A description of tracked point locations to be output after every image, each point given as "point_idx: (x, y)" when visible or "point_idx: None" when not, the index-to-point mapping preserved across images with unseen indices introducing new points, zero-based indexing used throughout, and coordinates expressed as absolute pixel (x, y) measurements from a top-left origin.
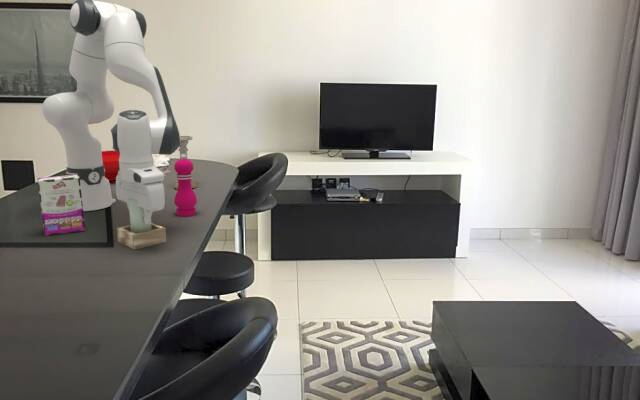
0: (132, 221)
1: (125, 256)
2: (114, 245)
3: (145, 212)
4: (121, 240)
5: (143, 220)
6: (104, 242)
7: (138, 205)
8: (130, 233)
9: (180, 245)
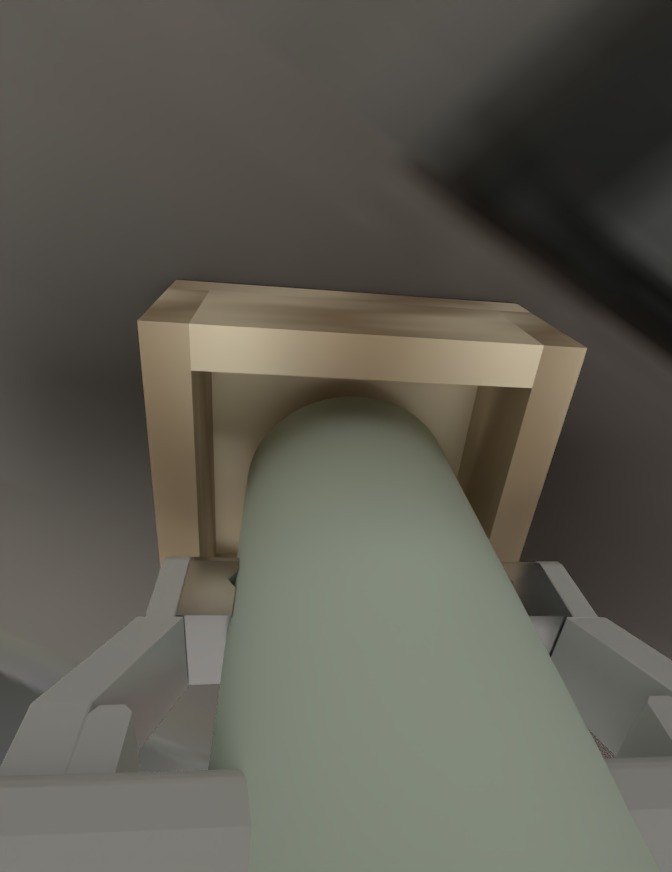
0: (355, 486)
1: (29, 71)
2: (458, 218)
3: (56, 704)
4: (451, 306)
5: (205, 578)
6: (622, 203)
7: (185, 803)
8: (251, 336)
9: (33, 575)
